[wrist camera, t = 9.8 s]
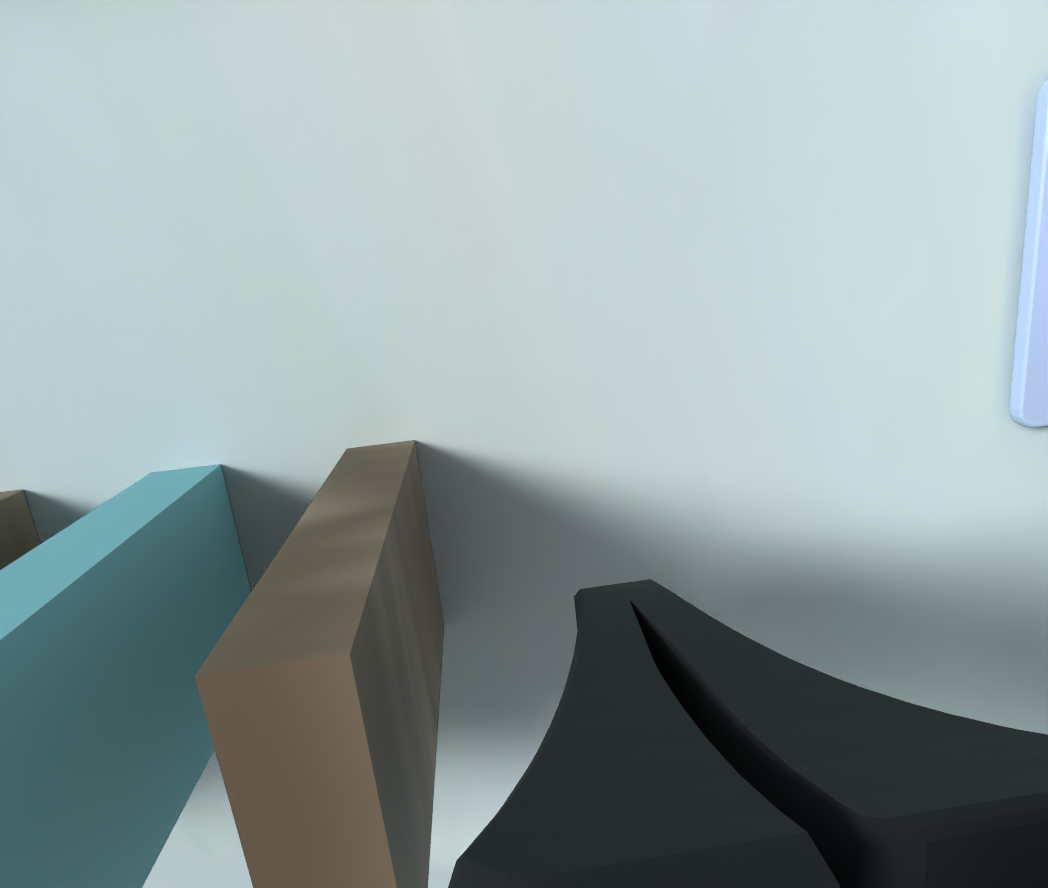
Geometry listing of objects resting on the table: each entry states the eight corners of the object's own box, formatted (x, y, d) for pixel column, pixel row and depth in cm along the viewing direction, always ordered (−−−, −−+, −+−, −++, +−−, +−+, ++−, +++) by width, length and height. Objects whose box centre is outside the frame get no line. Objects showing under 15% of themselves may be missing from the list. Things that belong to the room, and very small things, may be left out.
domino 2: (414, 440, 16) (349, 653, 7) (443, 626, 17) (420, 1003, 8) (346, 448, 15) (194, 677, 7) (381, 635, 17) (291, 1025, 8)
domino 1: (220, 464, 15) (-99, 718, 7) (265, 651, 17) (48, 1067, 8) (150, 472, 15) (-266, 741, 7) (201, 660, 17) (-90, 1090, 8)
